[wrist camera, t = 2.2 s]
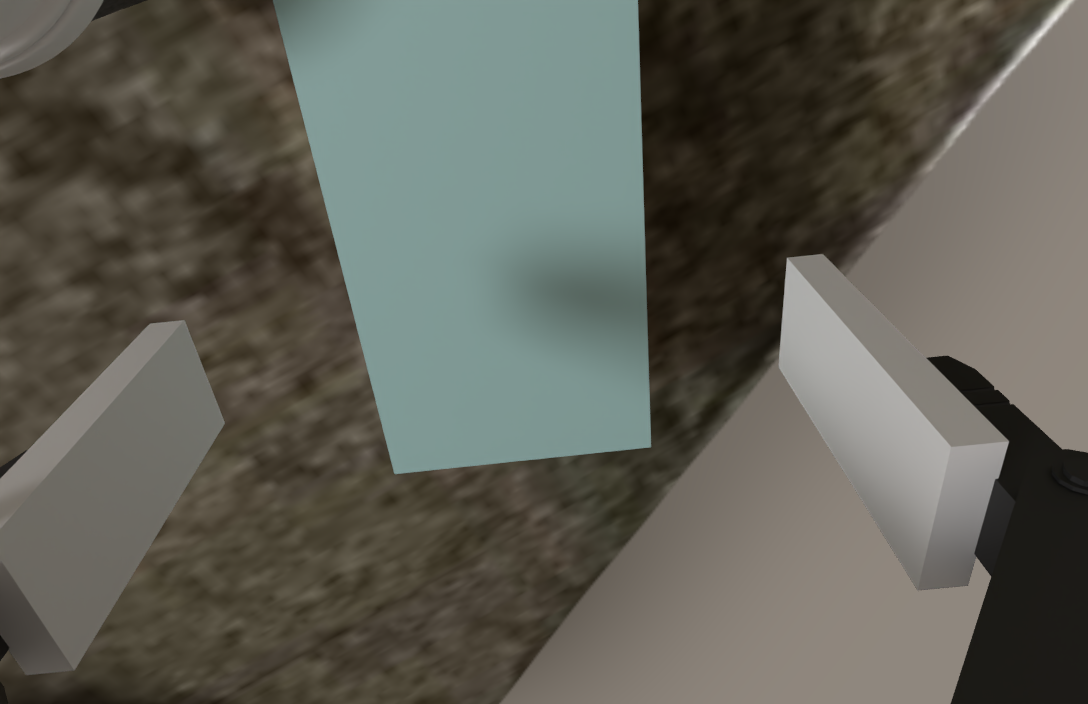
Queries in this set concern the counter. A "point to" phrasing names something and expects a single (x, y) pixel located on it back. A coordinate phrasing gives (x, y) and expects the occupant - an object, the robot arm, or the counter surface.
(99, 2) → the coffee cup
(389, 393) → the lid
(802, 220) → the counter surface
